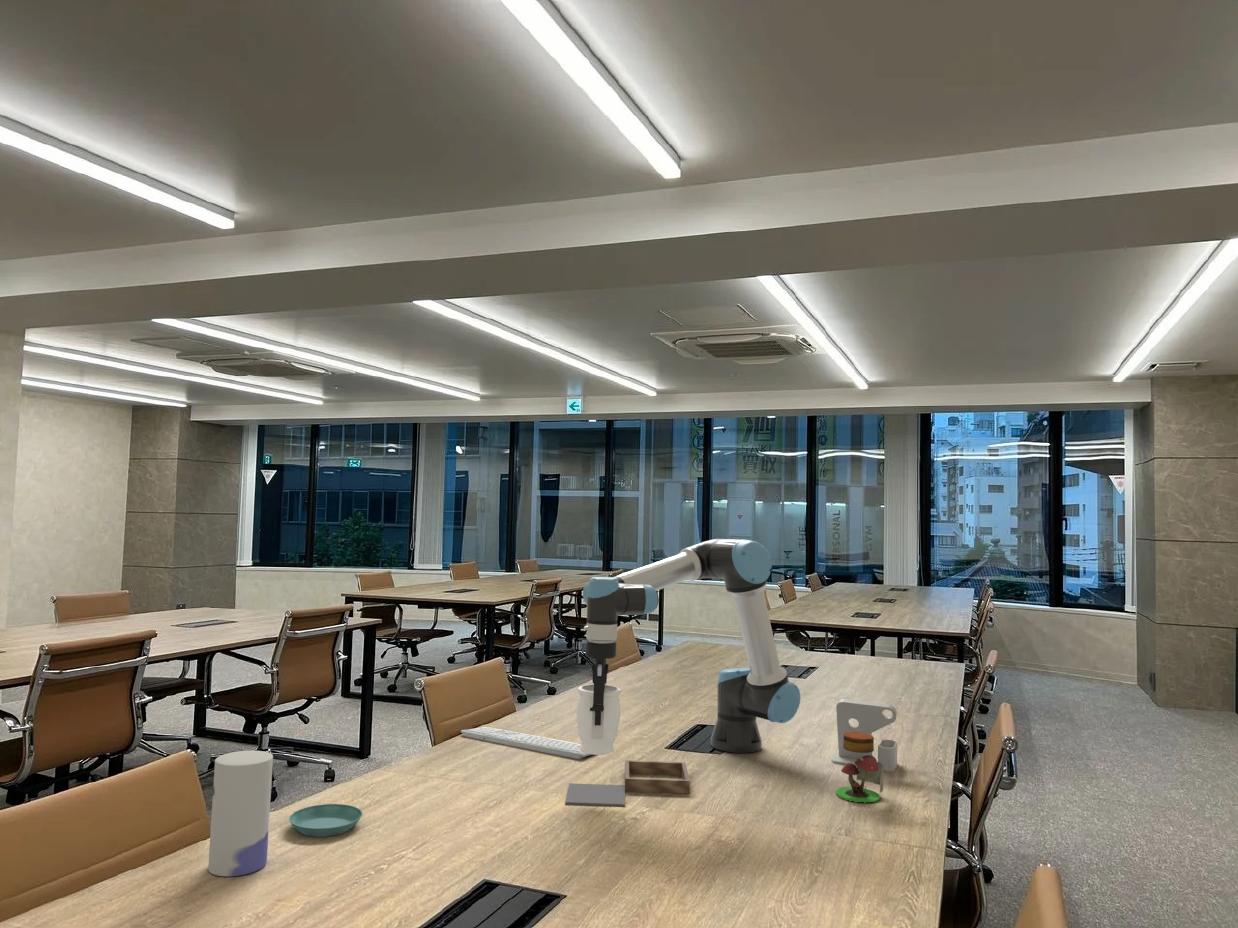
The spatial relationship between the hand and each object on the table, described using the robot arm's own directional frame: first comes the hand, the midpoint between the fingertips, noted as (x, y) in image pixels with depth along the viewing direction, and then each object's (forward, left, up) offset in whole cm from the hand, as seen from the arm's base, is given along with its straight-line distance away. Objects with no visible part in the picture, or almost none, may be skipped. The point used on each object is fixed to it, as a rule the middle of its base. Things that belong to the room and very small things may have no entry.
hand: (597, 732), depth 204 cm
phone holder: (-76, -36, -15) cm, 85 cm away
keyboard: (+21, -45, -16) cm, 52 cm away
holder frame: (-15, -12, -15) cm, 24 cm away
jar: (0, 0, -4) cm, 4 cm away
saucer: (+56, +26, -15) cm, 64 cm away
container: (+65, +47, -15) cm, 82 cm away
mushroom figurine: (-66, -6, -15) cm, 68 cm away
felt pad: (0, 0, -15) cm, 15 cm away
